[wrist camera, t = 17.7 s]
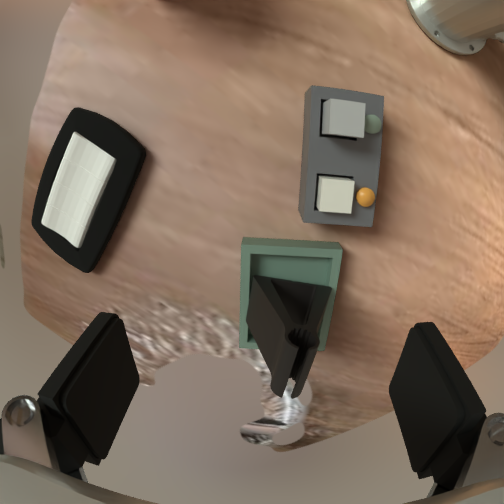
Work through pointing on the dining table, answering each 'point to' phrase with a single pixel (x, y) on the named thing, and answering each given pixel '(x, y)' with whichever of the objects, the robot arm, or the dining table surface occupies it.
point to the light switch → (85, 187)
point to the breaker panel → (341, 157)
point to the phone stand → (286, 327)
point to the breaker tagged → (334, 193)
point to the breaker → (343, 118)
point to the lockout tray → (288, 273)
